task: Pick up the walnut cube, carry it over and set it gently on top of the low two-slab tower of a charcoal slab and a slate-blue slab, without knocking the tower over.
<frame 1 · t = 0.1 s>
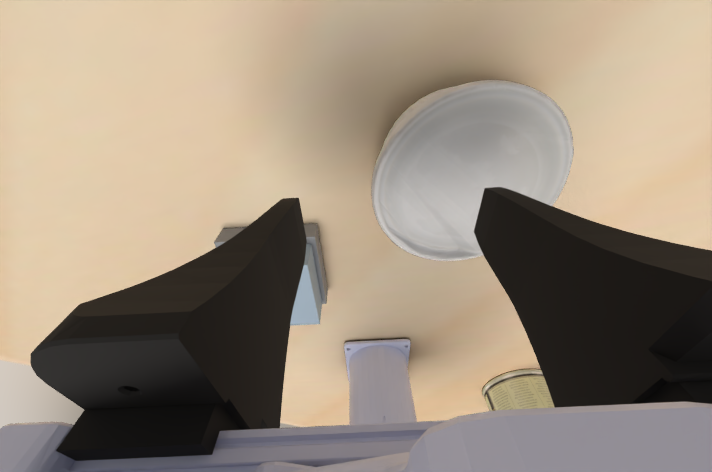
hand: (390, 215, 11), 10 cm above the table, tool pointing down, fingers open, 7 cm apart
ramekin: (442, 157, 20), on the table
coffee can: (516, 384, 41), on the table
tower base: (281, 257, 26), on the table, touching tower top
tower top: (277, 277, 24), point 2 cm above the table, touching tower base
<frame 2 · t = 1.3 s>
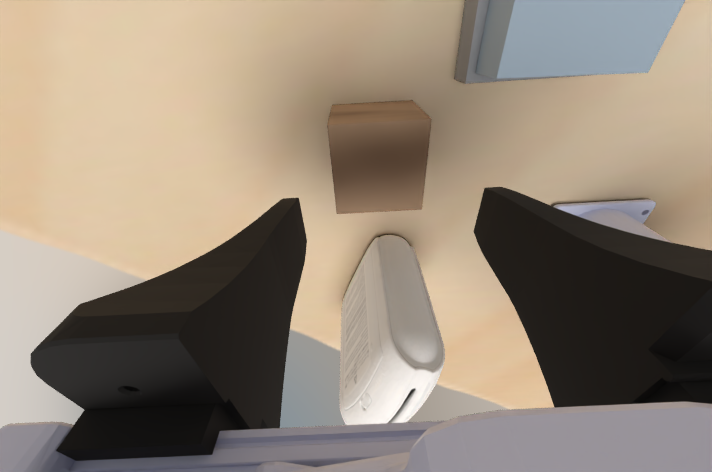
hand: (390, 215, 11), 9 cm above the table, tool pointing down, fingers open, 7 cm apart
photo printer: (374, 274, 26), on the table
walnut cube: (372, 142, 19), on the table
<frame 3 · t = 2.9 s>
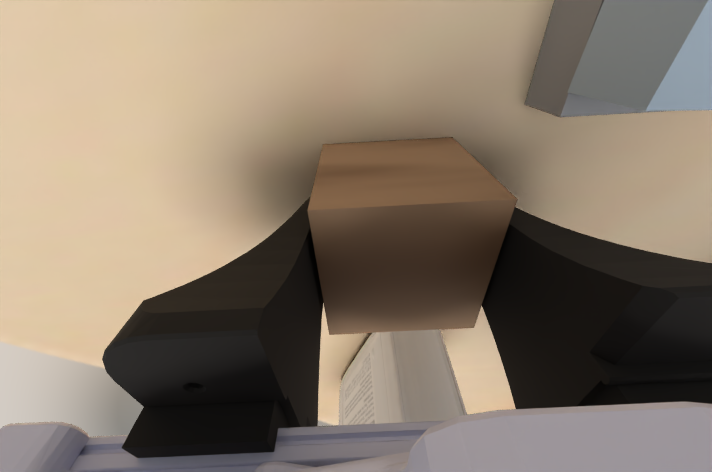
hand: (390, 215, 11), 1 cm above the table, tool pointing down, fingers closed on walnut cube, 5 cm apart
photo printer: (383, 351, 20), on the table
walnut cube: (386, 198, 12), on the table, touching gripper
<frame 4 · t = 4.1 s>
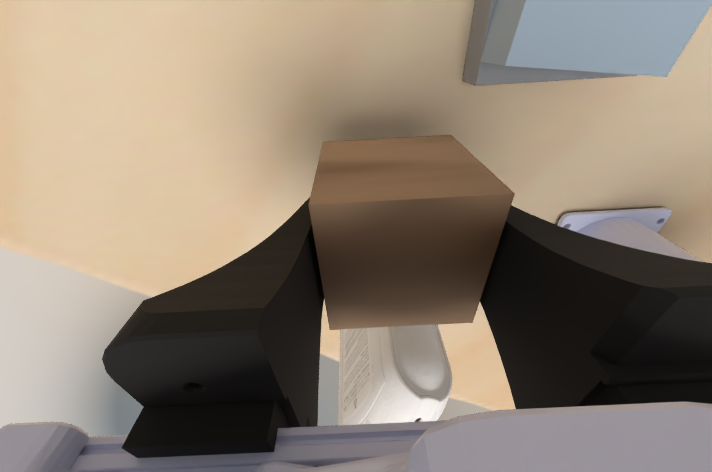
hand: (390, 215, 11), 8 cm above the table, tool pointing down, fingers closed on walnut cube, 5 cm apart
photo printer: (374, 284, 25), on the table
walnut cube: (385, 195, 12), point 6 cm above the table, touching gripper
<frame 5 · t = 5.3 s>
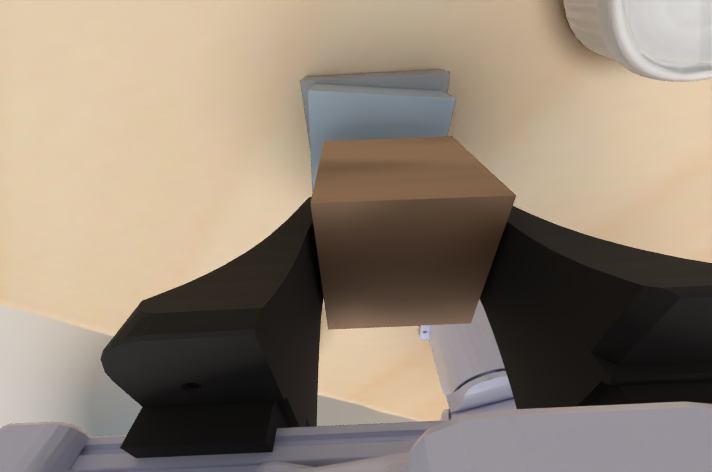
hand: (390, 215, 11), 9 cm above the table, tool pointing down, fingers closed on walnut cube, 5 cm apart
tower base: (372, 138, 19), on the table
tower top: (372, 150, 17), point 2 cm above the table
walnut cube: (385, 195, 12), point 8 cm above the table, touching gripper
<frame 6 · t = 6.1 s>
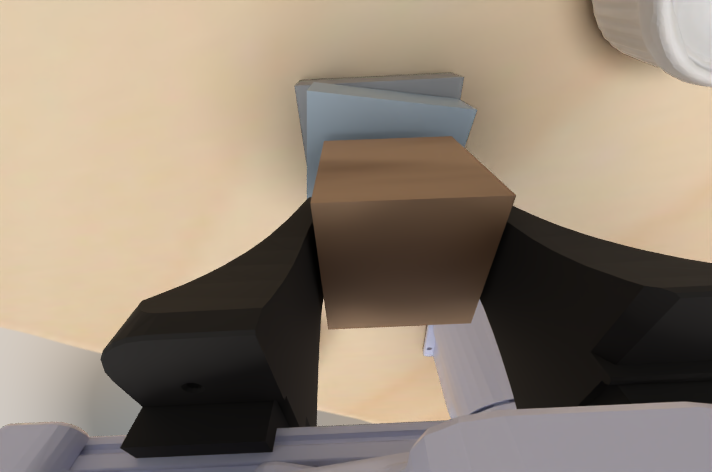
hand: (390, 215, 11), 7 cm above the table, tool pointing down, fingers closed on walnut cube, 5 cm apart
tower base: (374, 148, 17), on the table, touching tower top
tower top: (376, 160, 15), point 2 cm above the table, touching tower base
walnut cube: (385, 195, 12), point 6 cm above the table, touching gripper
when the fingers open (7 cm above the table, at t = 6.7 s): walnut cube drops 1 cm, point 4 cm above the table.
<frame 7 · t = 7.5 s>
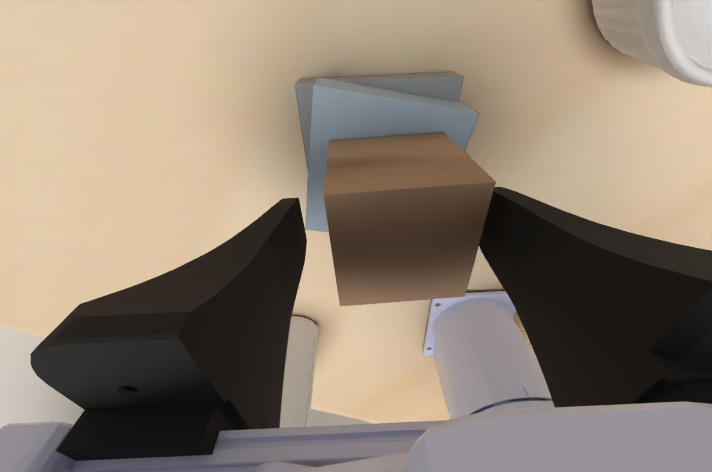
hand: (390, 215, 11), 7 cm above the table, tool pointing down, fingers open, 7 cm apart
tower base: (374, 147, 17), on the table, touching tower top
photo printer: (291, 342, 29), on the table
tower top: (376, 159, 15), point 2 cm above the table, touching tower base
walnut cube: (386, 187, 13), point 4 cm above the table
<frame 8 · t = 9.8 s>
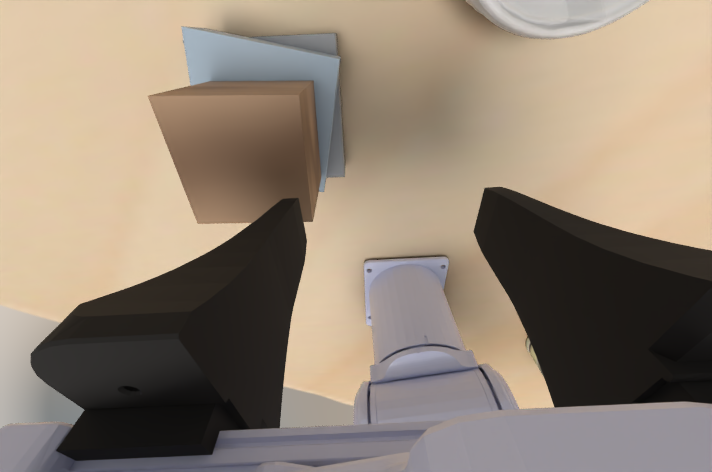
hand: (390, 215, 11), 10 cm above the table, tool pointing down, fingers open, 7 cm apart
tower base: (283, 109, 19), on the table, touching tower top
tower top: (274, 112, 16), point 2 cm above the table, touching tower base
walnut cube: (271, 134, 15), point 4 cm above the table
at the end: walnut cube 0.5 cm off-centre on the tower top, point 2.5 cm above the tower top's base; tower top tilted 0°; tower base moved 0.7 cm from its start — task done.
